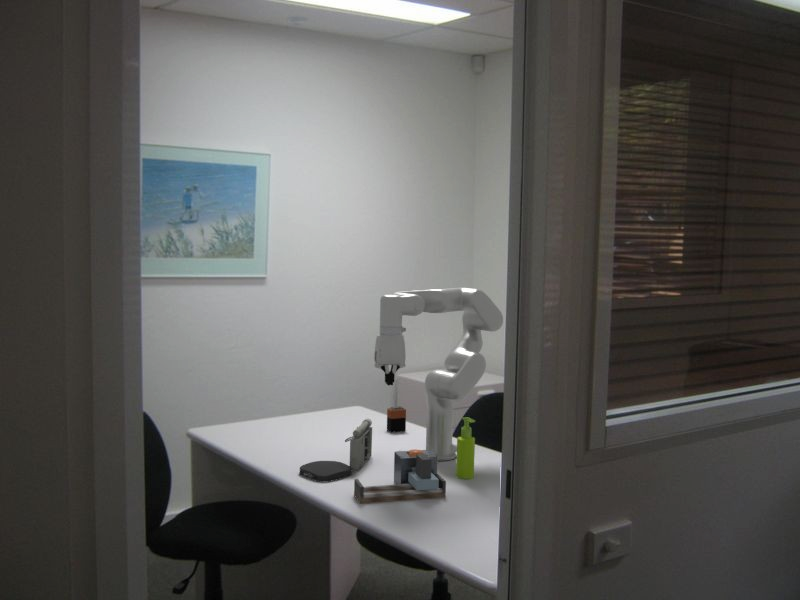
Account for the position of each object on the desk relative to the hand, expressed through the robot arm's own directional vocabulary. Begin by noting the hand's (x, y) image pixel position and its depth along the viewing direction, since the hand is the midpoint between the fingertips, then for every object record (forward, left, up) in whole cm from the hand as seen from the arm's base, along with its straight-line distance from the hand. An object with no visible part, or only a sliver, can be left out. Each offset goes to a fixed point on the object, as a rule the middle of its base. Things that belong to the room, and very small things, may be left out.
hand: (389, 384), depth 275 cm
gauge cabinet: (-4, +19, -29) cm, 35 cm away
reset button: (-4, +19, -22) cm, 30 cm away
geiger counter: (+7, -10, -29) cm, 32 cm away
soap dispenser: (-23, +15, -29) cm, 40 cm away
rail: (+4, +29, -29) cm, 41 cm away
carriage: (-4, +29, -26) cm, 39 cm away
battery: (-17, -49, -29) cm, 60 cm away
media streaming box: (+22, +2, -30) cm, 37 cm away
